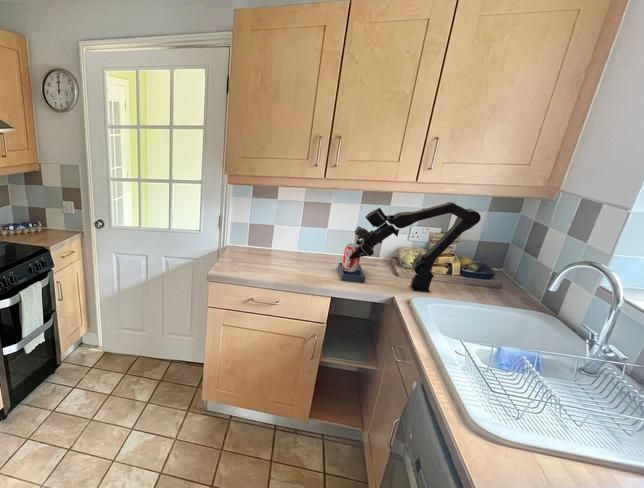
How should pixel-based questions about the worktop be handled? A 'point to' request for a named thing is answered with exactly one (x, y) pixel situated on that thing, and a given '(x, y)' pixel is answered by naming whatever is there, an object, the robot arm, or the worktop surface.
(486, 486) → the worktop surface
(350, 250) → the soda can
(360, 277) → the can rack
